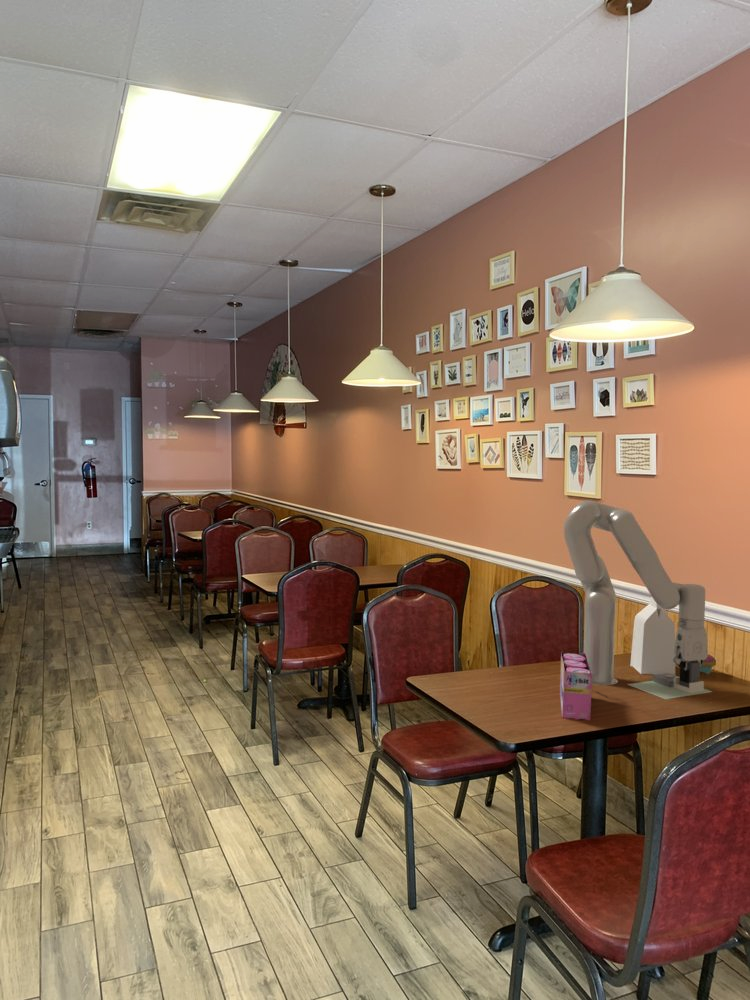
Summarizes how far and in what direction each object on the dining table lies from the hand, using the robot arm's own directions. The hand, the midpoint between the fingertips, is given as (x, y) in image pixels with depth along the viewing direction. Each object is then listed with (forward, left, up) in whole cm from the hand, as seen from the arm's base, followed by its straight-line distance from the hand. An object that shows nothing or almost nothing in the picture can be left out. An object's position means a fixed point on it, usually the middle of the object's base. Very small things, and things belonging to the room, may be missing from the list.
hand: (689, 680), depth 235 cm
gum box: (-43, +3, -4) cm, 43 cm away
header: (0, 0, -3) cm, 3 cm away
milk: (+6, +21, -4) cm, 22 cm away
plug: (0, 0, -2) cm, 2 cm away
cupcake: (+22, +14, -4) cm, 26 cm away
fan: (-1, +7, -3) cm, 8 cm away
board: (-5, +3, -4) cm, 7 cm away
